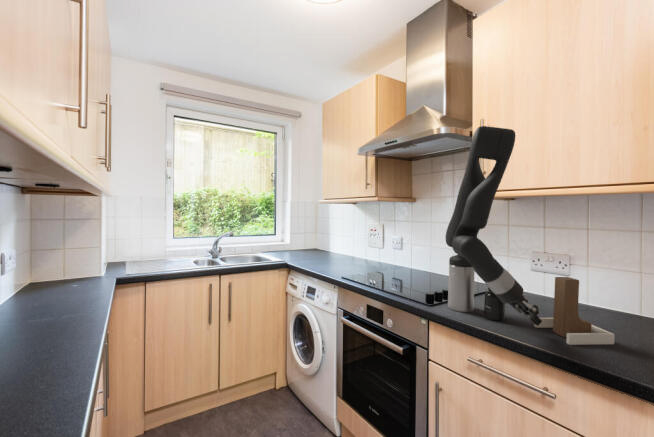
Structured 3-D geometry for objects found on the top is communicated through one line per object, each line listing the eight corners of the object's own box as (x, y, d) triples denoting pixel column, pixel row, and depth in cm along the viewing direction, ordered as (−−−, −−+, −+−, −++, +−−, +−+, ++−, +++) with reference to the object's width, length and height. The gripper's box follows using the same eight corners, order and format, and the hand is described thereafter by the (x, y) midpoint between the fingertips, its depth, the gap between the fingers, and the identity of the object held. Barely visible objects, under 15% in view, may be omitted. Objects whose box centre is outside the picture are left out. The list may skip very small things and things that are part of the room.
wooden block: (579, 331, 101) (581, 276, 100) (591, 337, 96) (594, 280, 95) (552, 331, 100) (554, 276, 100) (563, 337, 96) (565, 279, 95)
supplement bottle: (481, 318, 112) (482, 285, 111) (486, 313, 117) (487, 282, 116) (502, 323, 107) (504, 288, 107) (507, 318, 112) (508, 285, 112)
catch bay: (534, 326, 105) (534, 317, 105) (573, 326, 106) (573, 317, 105) (569, 344, 91) (569, 334, 91) (614, 344, 92) (614, 334, 91)
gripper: (526, 280, 90) (564, 322, 91) (497, 271, 103) (531, 307, 104) (508, 299, 89) (546, 340, 91) (481, 287, 102) (515, 323, 104)
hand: (538, 322), depth 97 cm, fingers closed
